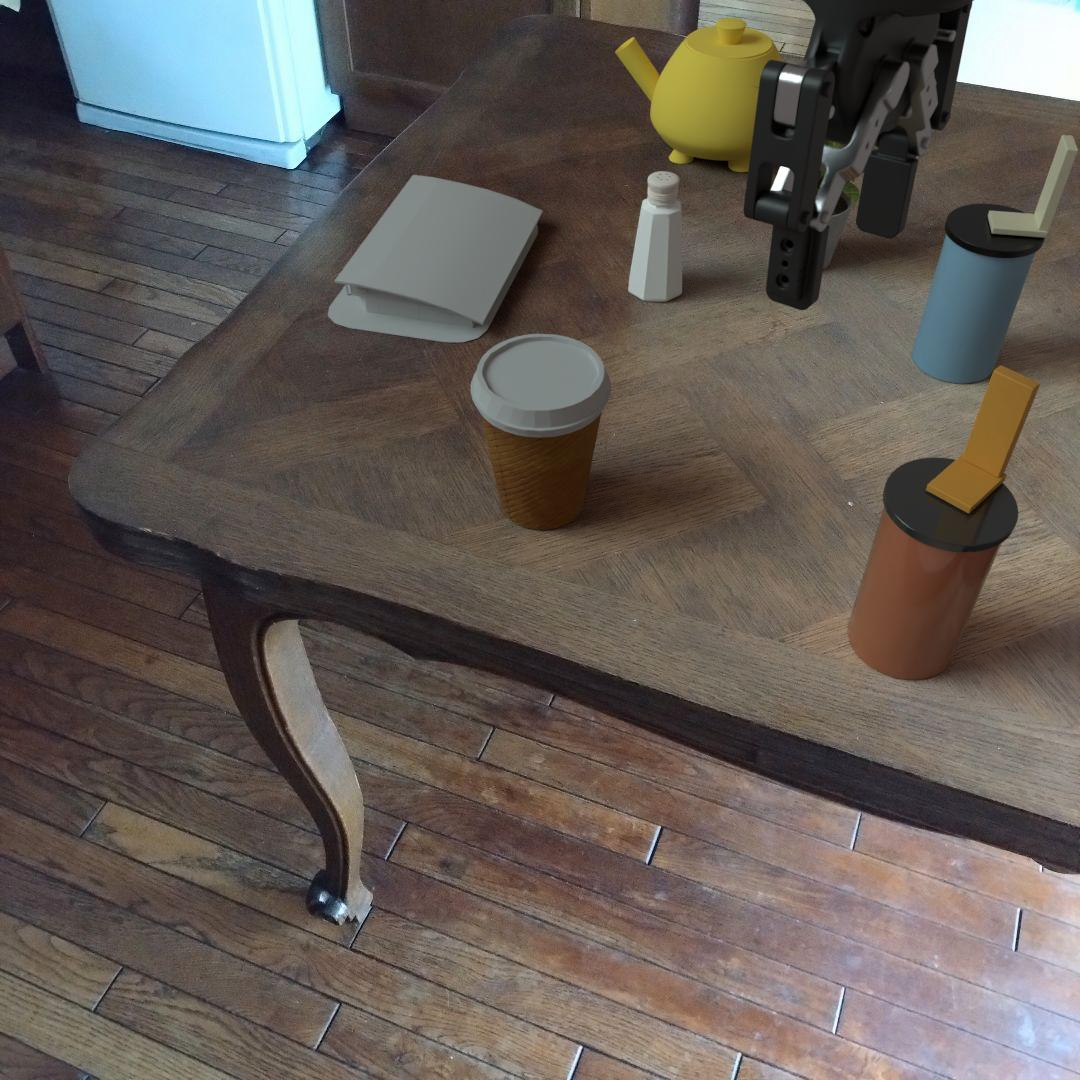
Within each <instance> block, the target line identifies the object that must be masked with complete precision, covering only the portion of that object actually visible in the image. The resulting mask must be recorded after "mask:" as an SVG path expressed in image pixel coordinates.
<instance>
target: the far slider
mask: <svg viewBox="0 0 1080 1080" xmlns="http://www.w3.org/2000/svg"><path fill="white" fill-rule="evenodd" d="M1078 152H1079V148H1078V146H1077V143H1076V140H1075V138H1074V136H1073V135H1070V134H1069V135H1067V134H1062V135H1061V137H1060V139H1059V142H1058V145H1057V148H1056V151H1055V153H1054V157H1053V159H1052V162H1051V164H1050V168H1049V171H1048V173H1047V176H1046V179H1045V182H1044V185H1043V188H1042V190H1041V193H1040V196H1039V198H1038V202H1037V204H1036V207H1035V209H1034V212H1033V213H1028V212H1025V213H1016V212H1003V211H989V213H988V220H989V224H990V228H991V232H992V234H1003V235H1016V236H1029V237H1042V238H1045V239H1046V238H1047V237H1048V233H1049V231H1050V229H1051V227H1052V223H1053V221H1054V219H1055V215H1056V212H1057V209H1058V207H1059V204H1060V203H1061V199H1062V197H1063V193H1064V191H1065V188H1066V186H1067V184H1068V183H1067V182H1068V180H1069V177H1070V174H1071V172H1072V169H1073V167H1074V163H1075V161H1076V158H1077V155H1078Z"/></svg>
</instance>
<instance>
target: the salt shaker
mask: <svg viewBox="0 0 1080 1080" xmlns="http://www.w3.org/2000/svg"><path fill="white" fill-rule="evenodd" d="M646 182H647V197H646V198H645V199H644V198H643V199H642V201H641V206H640V212H639V218H638V224H637V229H636V236H635V241H634V248H633V254H632V260H631V265H630V271H629V277H628V288H627V291H628V293H630V294H631V295H633V296H635V297H637V298H638V299H640V300H641V301H643V302H653V303H656V302H657V303H667V302H668V301H671V300H673V299H675V298H677V297H679V296H681V295H683V231H682V230H683V225H682V223H683V222H682V221H683V219H682V218H683V215H682V201H680V200H679V199H678V195H679V185H680V182H681V179H680V177H679V175H677V174H676V173H674V172H672V171H665V170H660V171H655V172H652V173H651V174H649V175H648V176H647V181H646Z"/></svg>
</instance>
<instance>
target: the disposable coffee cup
mask: <svg viewBox="0 0 1080 1080" xmlns="http://www.w3.org/2000/svg"><path fill="white" fill-rule="evenodd" d="M611 393H612V383H611V378H610V375H609V373H608V372H607V370H606V368H605V366H604V362H603V359H602V358H601V357H600V356H599V354H598V352H596V351H595V350H594V349H593V348H591V347H590V346H589V345H588V344H586V343H584V342H582V341H580V340H578V339H575V338H572V337H569V336H565V335H560V334H553V333H552V334H550V333H529V334H523V335H518V336H513V337H511V338H508V339H506V340H503V341H501V342H499V343H496V344H495V345H493V346H491V348H490V349H488V350H487V351H486V352H485V353H484V354H483V355H482V357H481V358H480V360H479V362H478V364H477V366H476V371H475V372H474V373H473V375H472V379H471V382H470V396H471V399H472V402H473V403H474V406H475V407H476V409H477V410H478V412H479V413H480V417H481V420H482V421H481V422H482V425H483V432H484V435H485V439H486V445H487V450H488V453H489V458H490V462H491V467H492V471H493V476H494V480H495V485H496V489H497V493H498V499H499V504H500V508H501V511H502V512H503V514H504V515H505V517H506V518H507V519H508V520H510V521H511V522H512V523H514V524H516V525H518V526H520V527H522V528H527V529H530V530H539V531H541V530H553V529H558V528H561V527H563V526H566V525H568V524H570V523H571V522H573V521H574V520H575V519H577V517H579V515H580V514H581V512H582V511H583V509H584V506H585V499H586V494H587V489H588V483H589V478H590V473H591V469H592V463H593V458H594V453H595V449H596V443H597V439H598V433H599V428H600V423H601V417H602V412H603V411H604V409H605V407H606V405H607V404H608V402H609V401H610V396H611Z"/></svg>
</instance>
